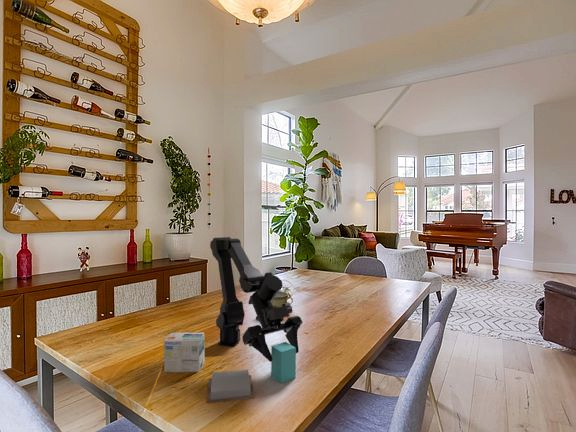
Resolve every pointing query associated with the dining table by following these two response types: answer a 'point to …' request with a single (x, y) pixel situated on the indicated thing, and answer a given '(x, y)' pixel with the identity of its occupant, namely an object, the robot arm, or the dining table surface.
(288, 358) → the teal block
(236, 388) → the grey slab
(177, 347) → the light bulb box
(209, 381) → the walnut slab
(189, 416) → the dining table surface
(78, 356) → the dining table surface
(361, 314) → the dining table surface
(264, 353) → the robot arm
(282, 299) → the olive mug
